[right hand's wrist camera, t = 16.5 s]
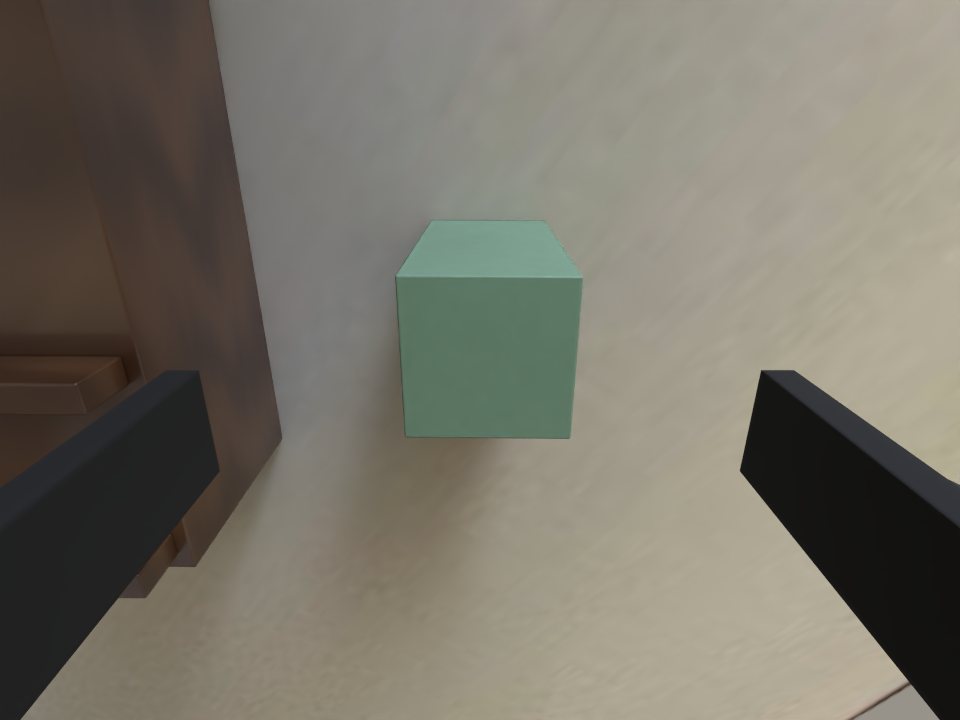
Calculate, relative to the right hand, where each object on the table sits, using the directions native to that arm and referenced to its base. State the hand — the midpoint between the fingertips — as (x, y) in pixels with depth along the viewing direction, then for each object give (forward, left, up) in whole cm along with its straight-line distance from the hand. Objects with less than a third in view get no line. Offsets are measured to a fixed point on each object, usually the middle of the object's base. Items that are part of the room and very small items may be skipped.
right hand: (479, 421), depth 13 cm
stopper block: (0, 0, -13) cm, 13 cm away
